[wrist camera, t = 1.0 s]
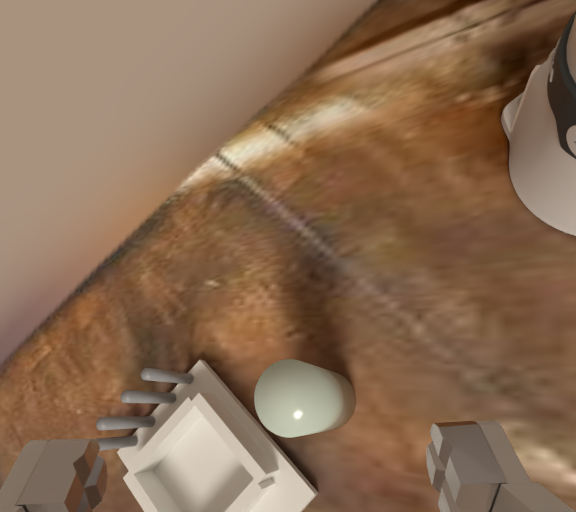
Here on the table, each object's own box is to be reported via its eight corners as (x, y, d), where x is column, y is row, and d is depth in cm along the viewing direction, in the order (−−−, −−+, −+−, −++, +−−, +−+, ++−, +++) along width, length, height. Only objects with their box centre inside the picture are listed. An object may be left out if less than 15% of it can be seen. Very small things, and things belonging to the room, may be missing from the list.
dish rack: (204, 360, 45) (158, 351, 38) (318, 492, 38) (288, 512, 31) (123, 451, 45) (61, 460, 38) (223, 600, 38) (171, 645, 31)
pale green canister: (326, 359, 42) (288, 343, 32) (367, 399, 39) (340, 396, 30) (289, 400, 42) (240, 398, 32) (329, 442, 39) (289, 454, 29)
